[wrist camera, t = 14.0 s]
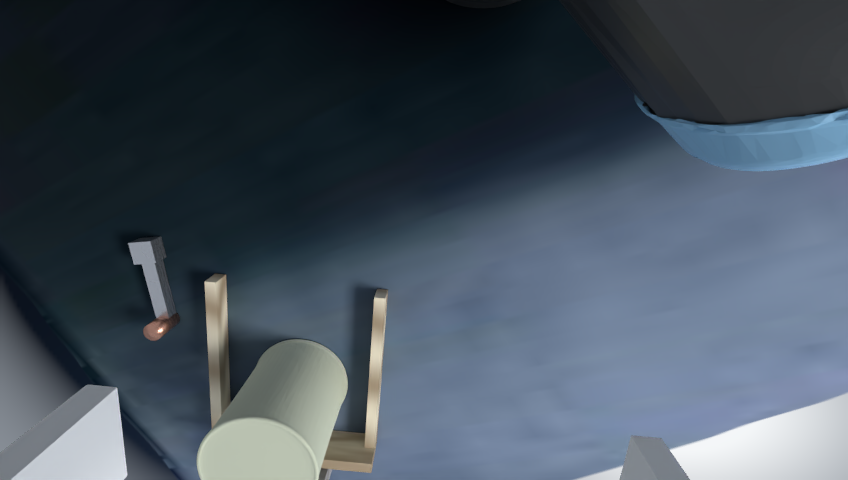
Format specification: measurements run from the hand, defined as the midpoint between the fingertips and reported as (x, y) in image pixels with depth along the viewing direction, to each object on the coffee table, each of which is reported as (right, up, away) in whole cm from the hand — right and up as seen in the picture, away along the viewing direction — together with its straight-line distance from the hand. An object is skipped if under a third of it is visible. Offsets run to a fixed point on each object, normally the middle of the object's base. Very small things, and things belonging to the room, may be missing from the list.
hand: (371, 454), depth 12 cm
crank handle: (-23, +1, +30) cm, 38 cm away
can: (-11, -8, +33) cm, 35 cm away
